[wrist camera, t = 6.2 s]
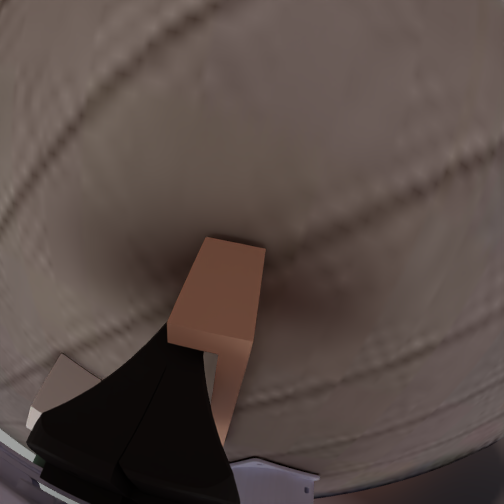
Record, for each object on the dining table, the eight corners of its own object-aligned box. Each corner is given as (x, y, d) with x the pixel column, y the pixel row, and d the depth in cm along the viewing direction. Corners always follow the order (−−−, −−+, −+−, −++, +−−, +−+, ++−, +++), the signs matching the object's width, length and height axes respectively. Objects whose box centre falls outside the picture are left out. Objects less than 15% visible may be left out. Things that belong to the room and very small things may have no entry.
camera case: (200, 433, 21) (186, 495, 16) (150, 449, 26) (137, 494, 21) (61, 352, 18) (26, 414, 13) (46, 388, 22) (22, 432, 18)
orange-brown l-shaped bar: (220, 444, 21) (212, 490, 18) (192, 438, 21) (181, 483, 18) (271, 249, 11) (261, 342, 7) (205, 236, 11) (167, 322, 7)
